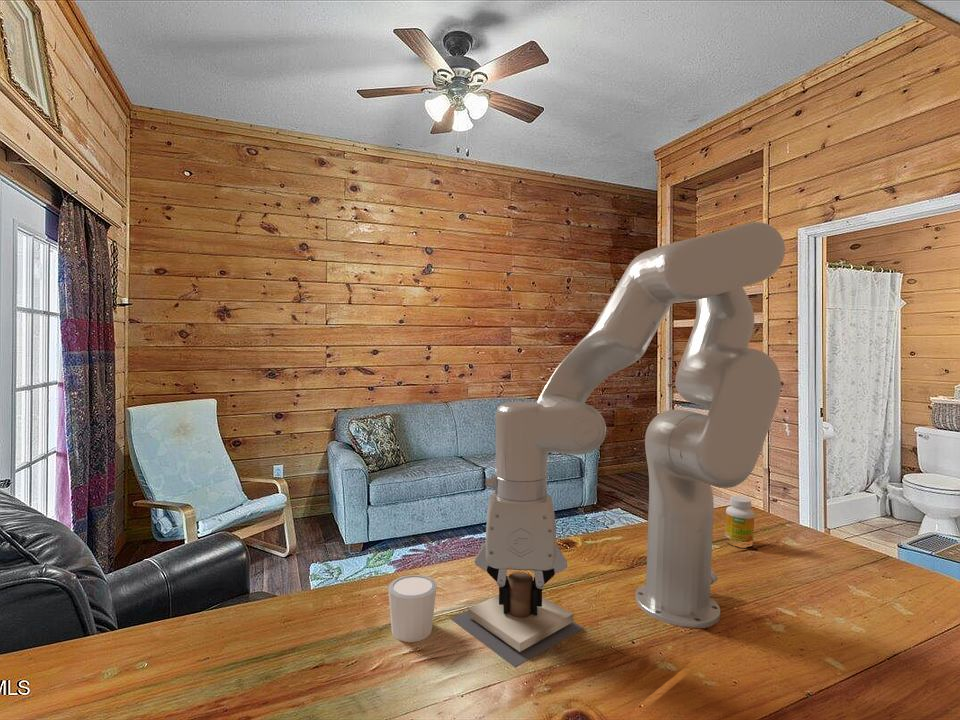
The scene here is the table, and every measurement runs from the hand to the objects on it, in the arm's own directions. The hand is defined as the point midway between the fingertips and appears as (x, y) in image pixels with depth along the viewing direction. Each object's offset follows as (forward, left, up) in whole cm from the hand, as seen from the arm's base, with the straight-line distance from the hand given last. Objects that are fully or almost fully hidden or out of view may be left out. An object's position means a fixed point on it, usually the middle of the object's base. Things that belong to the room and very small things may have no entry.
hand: (520, 608), depth 73 cm
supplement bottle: (-58, +7, -3) cm, 59 cm away
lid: (0, 0, -2) cm, 2 cm away
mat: (+1, 0, -3) cm, 3 cm away
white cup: (+14, -8, -3) cm, 16 cm away
